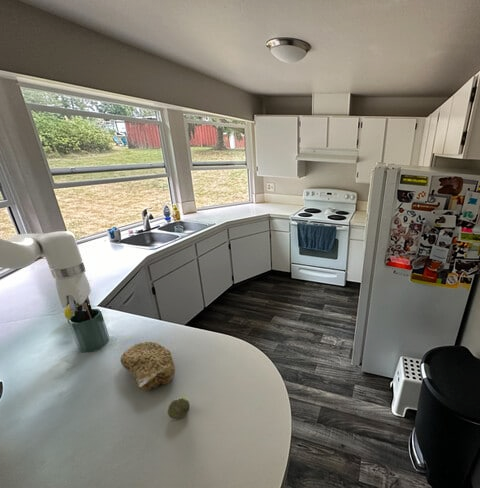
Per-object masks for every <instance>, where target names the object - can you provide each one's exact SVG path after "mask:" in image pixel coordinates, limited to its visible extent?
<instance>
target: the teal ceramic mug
mask: <svg viewBox="0 0 480 488" xmlns="http://www.w3.org/2000/svg"><path fill="white" fill-rule="evenodd" d="M92 311H93V314H92V315H91V318H92V319H90V320H87V321H84V322H78V321H77V319H76V316H75V314H74V315H73V316H71V317H70V318H69V319H67V324H68V326H69V329H70V330H71V333H72V336H73V339H74V342H75V344H76V346H77V349H78V351H79V353H91V352H95V351H98V350H99V349H101V348H103V347H105V346H106V345H107V344H108V343H109V342H110V339H111V337H110V335H109V332H108V328H107V325H106V322H105V319H104V316H103V313H102V310H101V309H99V308H92Z"/></svg>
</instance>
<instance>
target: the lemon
mask: <svg viewBox="0 0 480 488" xmlns="http://www.w3.org/2000/svg"><path fill="white" fill-rule="evenodd" d="M76 307H77V306H76ZM63 313H64V317H65V319H66V320H68V319H69V318H70V317H71V316H73V315H74V313H73V312H70V308H69V305H68V306H67V307H66V308H64V312H63Z"/></svg>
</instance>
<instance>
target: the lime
mask: <svg viewBox="0 0 480 488" xmlns="http://www.w3.org/2000/svg"><path fill="white" fill-rule="evenodd" d="M190 406H191V405H190V401H189V400H188V399H187V398H186V397H184V396H180V397H175V398H174V399H173V400H172V401H171V402H170V403H169V405H168V408H167V415H168V417H169V418H170V419H172V420H175V421H176V420H179V419H182V418H183V417H185V416H186V415H187V413H189V412H190Z"/></svg>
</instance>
